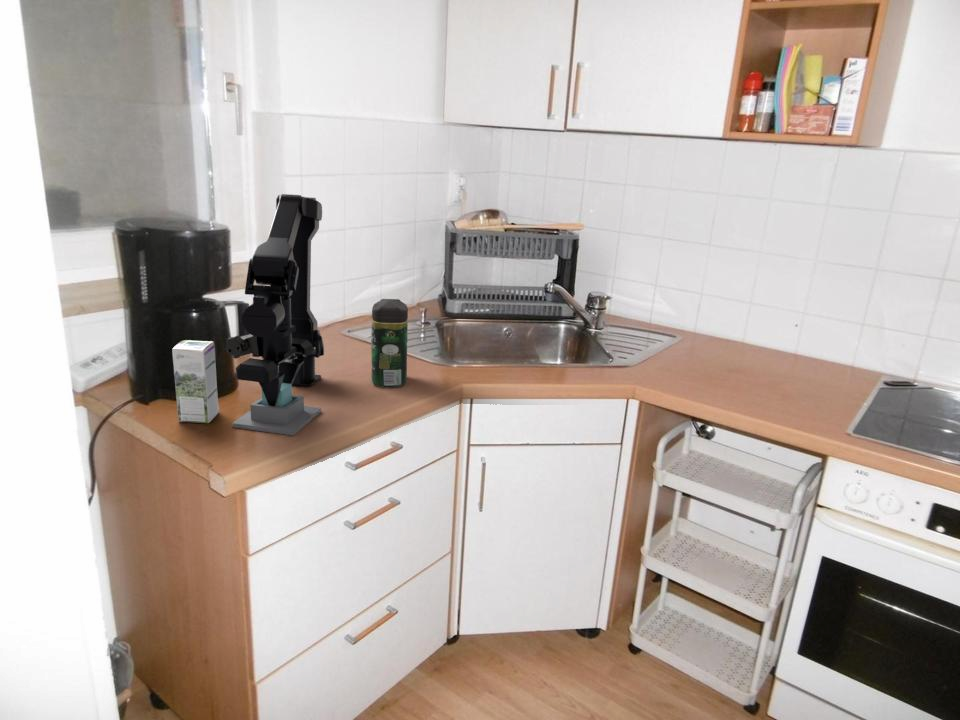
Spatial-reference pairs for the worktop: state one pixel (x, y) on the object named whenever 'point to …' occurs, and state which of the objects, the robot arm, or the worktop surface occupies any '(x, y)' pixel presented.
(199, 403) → the syrup box
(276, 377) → the robot arm
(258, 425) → the socket
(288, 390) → the peg
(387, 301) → the coffee jar
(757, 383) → the worktop surface
